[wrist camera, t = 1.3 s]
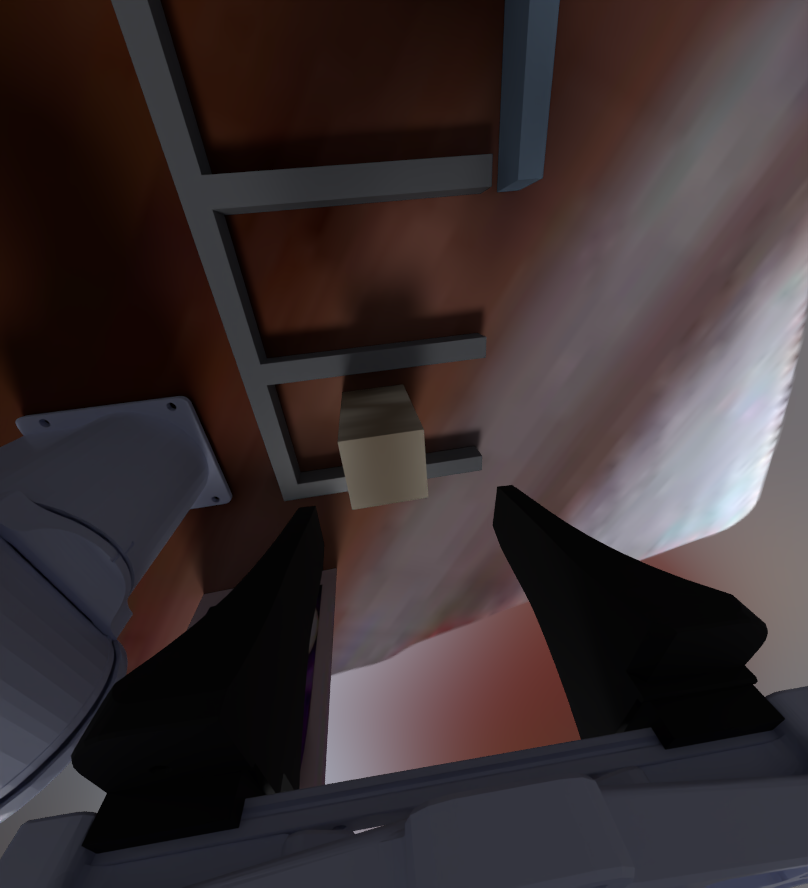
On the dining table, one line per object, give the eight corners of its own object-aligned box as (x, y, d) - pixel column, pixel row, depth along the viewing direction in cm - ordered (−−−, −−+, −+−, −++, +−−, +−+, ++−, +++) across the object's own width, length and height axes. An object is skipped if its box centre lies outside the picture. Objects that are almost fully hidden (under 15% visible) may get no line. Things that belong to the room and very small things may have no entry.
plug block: (352, 445, 22) (352, 509, 16) (342, 392, 20) (337, 442, 14) (408, 437, 23) (428, 497, 17) (403, 384, 21) (423, 429, 15)
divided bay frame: (288, 488, 23) (281, 509, 21) (88, -116, 11) (26, -210, 9) (500, 455, 25) (514, 472, 22) (539, -117, 12) (578, -198, 10)
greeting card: (334, 561, 27) (317, 824, 14) (351, 613, 31) (350, 861, 18) (199, 587, 27) (49, 891, 13) (232, 638, 30) (140, 916, 17)
